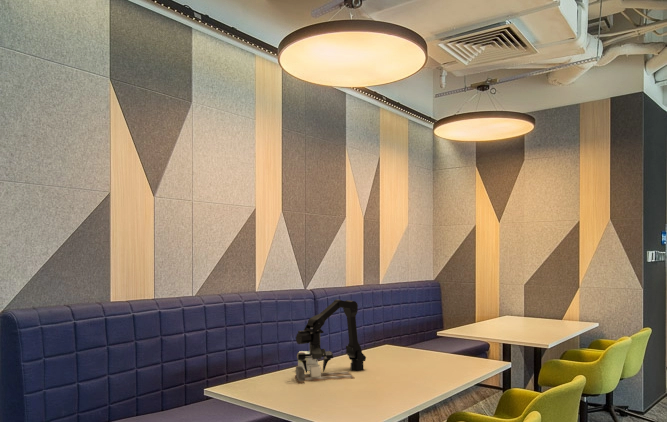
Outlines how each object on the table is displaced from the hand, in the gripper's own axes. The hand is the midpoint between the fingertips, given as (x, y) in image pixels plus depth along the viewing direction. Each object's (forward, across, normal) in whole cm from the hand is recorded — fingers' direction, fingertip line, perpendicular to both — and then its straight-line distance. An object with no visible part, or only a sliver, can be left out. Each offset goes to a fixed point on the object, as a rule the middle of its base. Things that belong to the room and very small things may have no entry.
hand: (315, 372), depth 274 cm
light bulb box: (+4, -1, +19) cm, 19 cm away
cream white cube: (+3, 0, 0) cm, 3 cm away
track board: (+4, +5, 0) cm, 6 cm away
